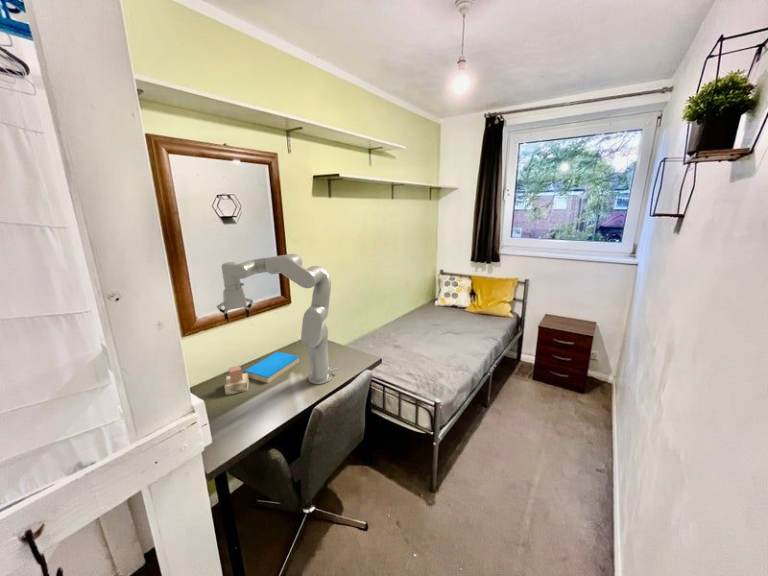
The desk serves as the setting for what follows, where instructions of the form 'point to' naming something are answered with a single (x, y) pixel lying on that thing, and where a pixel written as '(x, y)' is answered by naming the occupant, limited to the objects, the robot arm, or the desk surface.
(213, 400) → the desk surface
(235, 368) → the block
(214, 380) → the desk surface
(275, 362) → the book
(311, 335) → the robot arm
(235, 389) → the base
